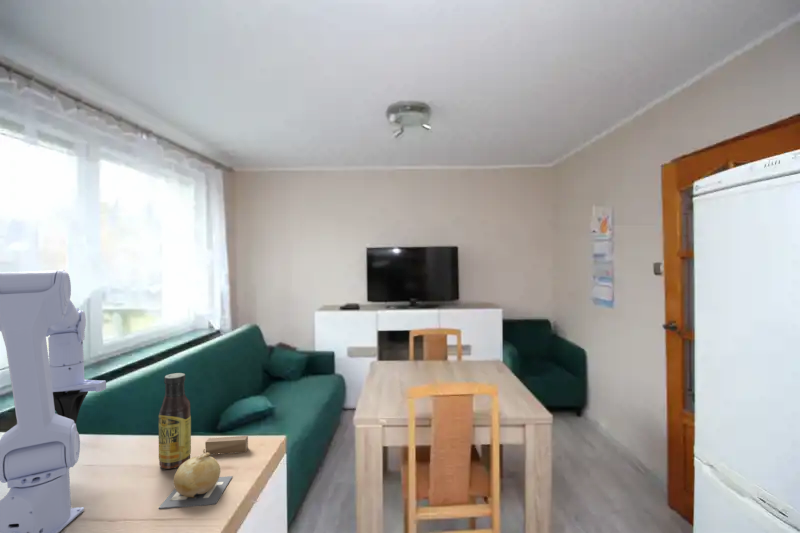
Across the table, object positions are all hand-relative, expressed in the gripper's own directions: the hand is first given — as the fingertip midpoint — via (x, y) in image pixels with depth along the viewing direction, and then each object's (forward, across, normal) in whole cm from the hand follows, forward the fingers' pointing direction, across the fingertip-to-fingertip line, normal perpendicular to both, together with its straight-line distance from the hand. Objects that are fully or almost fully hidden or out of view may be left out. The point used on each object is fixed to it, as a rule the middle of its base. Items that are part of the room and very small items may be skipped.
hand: (69, 425), depth 85 cm
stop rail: (+10, -32, -3) cm, 34 cm away
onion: (+10, -32, +13) cm, 36 cm away
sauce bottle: (+10, -22, +1) cm, 24 cm away
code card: (+10, -32, +13) cm, 36 cm away
